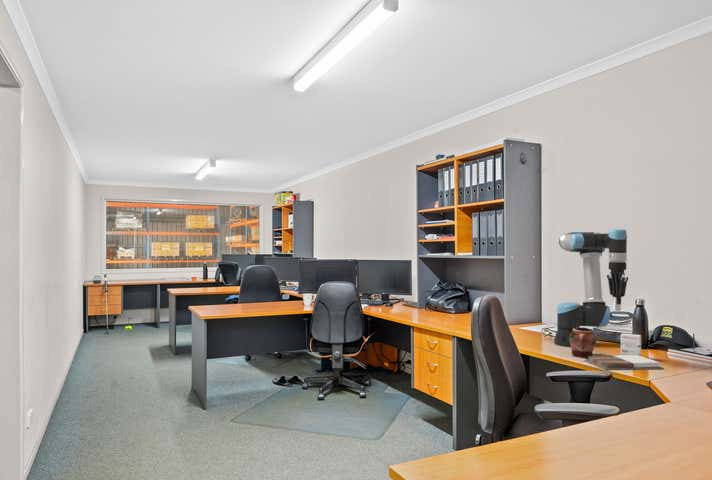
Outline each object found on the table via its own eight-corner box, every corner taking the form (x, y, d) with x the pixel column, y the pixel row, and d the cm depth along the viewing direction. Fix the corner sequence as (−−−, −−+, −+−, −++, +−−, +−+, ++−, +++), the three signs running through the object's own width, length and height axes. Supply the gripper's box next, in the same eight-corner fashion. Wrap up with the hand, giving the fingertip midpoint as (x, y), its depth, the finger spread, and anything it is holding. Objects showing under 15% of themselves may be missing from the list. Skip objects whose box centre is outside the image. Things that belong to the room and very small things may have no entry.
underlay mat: (583, 360, 228) (583, 359, 228) (638, 360, 230) (638, 359, 230) (605, 370, 211) (605, 368, 211) (663, 369, 213) (663, 367, 213)
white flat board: (613, 359, 228) (613, 355, 228) (637, 359, 229) (637, 354, 229) (634, 367, 213) (634, 363, 213) (659, 366, 214) (659, 362, 214)
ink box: (641, 358, 234) (641, 334, 234) (640, 360, 230) (640, 336, 230) (621, 356, 239) (621, 332, 239) (620, 358, 235) (620, 334, 235)
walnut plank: (588, 360, 227) (588, 356, 227) (612, 359, 228) (612, 355, 228) (607, 368, 212) (607, 363, 212) (633, 367, 213) (633, 363, 213)
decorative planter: (597, 362, 226) (597, 332, 226) (569, 359, 231) (569, 330, 231) (595, 353, 244) (595, 326, 244) (569, 351, 249) (569, 325, 249)
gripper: (601, 260, 234) (601, 308, 234) (618, 262, 221) (618, 313, 221) (616, 260, 235) (615, 308, 235) (634, 262, 222) (633, 312, 222)
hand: (617, 310), depth 228 cm, fingers closed
